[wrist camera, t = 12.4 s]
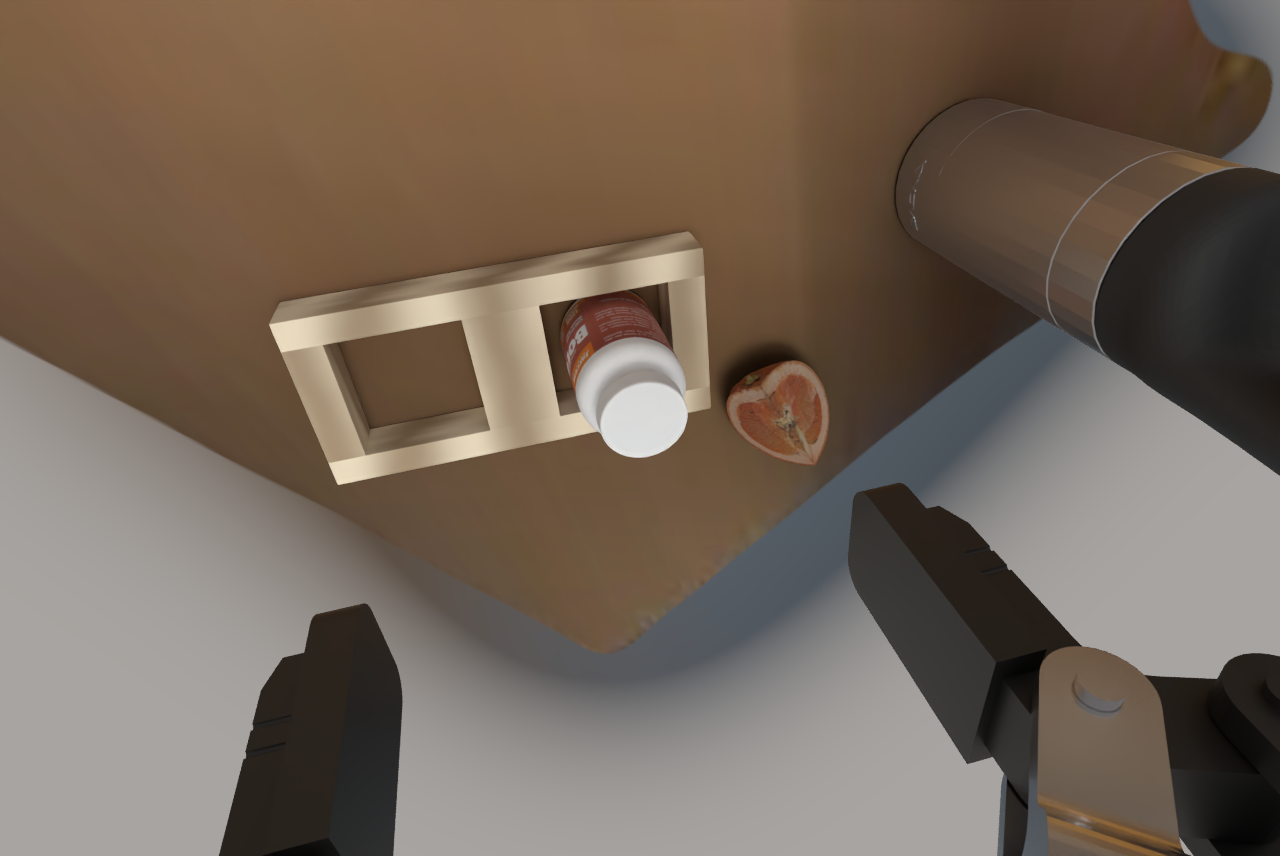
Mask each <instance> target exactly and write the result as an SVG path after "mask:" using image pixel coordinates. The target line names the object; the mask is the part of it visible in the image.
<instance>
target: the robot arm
mask: <svg viewBox="0 0 1280 856" xmlns="http://www.w3.org/2000/svg"><path fill="white" fill-rule="evenodd" d="M896 207H897V211H898V216H899V219H900V221H901V223H902V225H903V227H904V229H905V230H906V231H907V232H908V233H909V234H910V236H911V237H912V238H914V239H915V240H917V241H918V242H920V243H922V244H923V245H925V246H926V247H928V248H930V249H931V250H933V251H934V252H936V253H937V254H939V255H941V256H942V257H944V258H945V259H947V260H948V261H950V262H951V263H953V264H955V265H956V266H958V267H959V268H961V269H963V270H964V271H966V272H968V273H969V274H971V275H972V276H974V277H976V278H977V279H979V280H981V281H982V282H984V283H985V284H987V285H989V286H990V287H992V288H994V289H995V290H997V291H998V292H1000V293H1002V294H1003V295H1005V296H1007V297H1008V298H1010V299H1011V300H1013V301H1015V302H1016V303H1018V304H1020V305H1021V306H1023V307H1025V308H1026V309H1028V310H1029V311H1031V312H1033V313H1034V314H1036V315H1038V316H1039V317H1041V318H1042V319H1044V320H1046V321H1047V322H1049V323H1051V324H1052V325H1054V326H1056V327H1057V328H1059V329H1060V330H1062V331H1064V332H1065V333H1067V334H1069V335H1071V336H1072V337H1074V338H1076V339H1077V340H1079V341H1080V342H1082V343H1084V344H1085V345H1087V346H1089V347H1090V348H1092V349H1094V350H1095V351H1097V352H1098V353H1100V354H1102V355H1103V356H1105V357H1106V358H1108V359H1110V360H1111V361H1113V362H1115V363H1116V364H1118V365H1120V366H1121V367H1123V368H1125V369H1126V370H1128V371H1130V372H1132V373H1133V374H1135V375H1136V376H1137V377H1138V378H1139V379H1141V380H1142V381H1143V382H1144V383H1145V384H1147V385H1148V386H1149V387H1151V388H1152V389H1154V390H1155V391H1157V392H1158V393H1159V394H1161V395H1162V396H1164V397H1166V398H1167V399H1169V400H1170V401H1172V402H1173V403H1175V404H1177V405H1178V406H1180V407H1181V408H1183V409H1184V410H1186V411H1188V412H1189V413H1191V414H1192V415H1194V416H1195V417H1197V418H1198V419H1200V420H1201V421H1203V422H1204V423H1206V424H1207V425H1209V426H1210V427H1212V428H1213V429H1214V430H1216V431H1217V432H1219V433H1220V434H1222V435H1223V436H1225V437H1226V438H1228V439H1229V440H1230V441H1232V442H1233V443H1235V444H1237V445H1238V446H1239V447H1241V448H1242V449H1243V450H1245V451H1246V452H1247V453H1249V454H1250V455H1252V456H1253V457H1254V458H1256V459H1257V460H1259V461H1260V462H1261V463H1263V464H1264V465H1266V466H1267V467H1269V468H1270V469H1271V470H1273V471H1274V472H1275V473H1277V474H1278V475H1280V174H1277V173H1273V172H1269V171H1265V170H1261V169H1257V168H1252V167H1248V166H1245V165H1241V164H1237V163H1233V162H1230V161H1226V160H1222V159H1218V158H1215V157H1211V156H1207V155H1203V154H1199V153H1195V152H1191V151H1187V150H1183V149H1180V148H1176V147H1172V146H1168V145H1165V144H1161V143H1157V142H1154V141H1150V140H1146V139H1142V138H1139V137H1135V136H1131V135H1127V134H1124V133H1120V132H1116V131H1113V130H1109V129H1105V128H1101V127H1098V126H1094V125H1090V124H1087V123H1083V122H1079V121H1075V120H1072V119H1068V118H1064V117H1061V116H1057V115H1053V114H1049V113H1046V112H1043V111H1040V110H1036V109H1032V108H1028V107H1024V106H1021V105H1017V104H1013V103H1009V102H1006V101H1002V100H998V99H990V98H978V99H971V100H967V101H965V102H962V103H959V104H957V105H954V106H952V107H951V108H949V109H948V110H946V111H944V112H943V113H941V114H939V115H938V116H937V117H936V118H935V119H934V120H933V121H932V122H930V123H929V124H928V125H927V126H926V127H925V128H924V129H923V131H922V132H921V133H920V134H919V136H918V137H917V138H916V139H915V141H914V142H913V144H912V146H911V147H910V149H909V151H908V153H907V154H906V156H905V158H904V161H903V164H902V166H901V169H900V171H899V176H898V181H897V186H896ZM848 565H849V570H850V574H851V578H852V581H853V583H854V586H855V588H856V590H857V592H858V594H859V596H860V597H861V599H862V600H863V602H864V603H865V605H866V606H867V608H868V610H869V611H870V613H871V614H872V616H873V617H874V619H875V621H876V622H877V624H878V625H879V627H880V628H881V630H882V631H883V633H884V635H885V636H886V638H887V639H888V641H889V643H890V644H891V646H892V647H893V649H894V650H895V652H896V653H897V655H898V657H899V658H900V660H901V661H902V663H903V664H904V666H905V667H906V669H907V670H908V672H909V674H910V675H911V677H912V678H913V680H914V681H915V683H916V685H917V686H918V688H919V689H920V691H921V693H922V694H923V696H924V697H925V699H926V700H927V702H928V703H929V705H930V707H931V708H932V710H933V711H934V713H935V714H936V716H937V717H938V719H939V720H940V722H941V724H942V725H943V727H944V728H945V730H946V732H947V733H948V735H949V736H950V738H951V739H952V741H953V742H954V744H955V746H956V747H957V749H958V750H959V752H960V753H961V755H962V756H963V758H964V759H965V761H966V763H967V764H969V763H973V762H976V761H979V760H983V759H987V758H990V757H993V758H994V759H995V761H996V762H997V764H998V765H999V766H1000V768H1001V770H1002V771H1003V772H1004V775H1003V778H1002V784H1001V798H1000V815H999V833H998V851H997V856H1190V855H1187V854H1185V853H1184V851H1183V849H1182V847H1181V843H1180V839H1179V837H1180V838H1181V840H1182V841H1183V842H1184V843H1185V845H1186V846H1187V847H1188V849H1189V850H1190V851H1191V853H1192V854H1193V855H1194V856H1280V657H1279V656H1275V655H1270V654H1261V653H1251V654H1243V655H1240V656H1237V657H1234V658H1233V659H1231V660H1229V661H1228V662H1227V664H1226V665H1225V666H1224V668H1223V670H1222V671H1221V673H1220V675H1219V677H1218V678H1217V679H1205V678H1180V677H1160V676H1148V675H1143V674H1142V673H1141V672H1140V671H1139V670H1138V669H1137V668H1135V667H1134V666H1133V665H1131V664H1129V663H1128V662H1127V661H1125V660H1123V659H1121V658H1119V657H1118V656H1115V655H1113V654H1111V653H1108V652H1106V651H1102V650H1099V649H1095V648H1090V647H1082V646H1081V645H1080V644H1079V643H1078V642H1077V641H1076V640H1075V639H1074V638H1073V637H1072V636H1071V635H1070V634H1069V632H1068V631H1067V630H1066V629H1065V628H1064V627H1063V626H1062V625H1061V624H1060V622H1059V621H1058V620H1057V619H1056V618H1055V617H1054V616H1053V615H1052V614H1051V613H1050V612H1049V611H1048V609H1047V608H1046V607H1045V606H1044V605H1043V604H1042V603H1041V602H1040V601H1039V600H1038V598H1037V597H1036V596H1035V595H1034V594H1033V593H1032V592H1031V591H1030V590H1029V589H1028V587H1027V586H1026V585H1025V584H1024V583H1023V582H1022V581H1021V580H1020V579H1019V578H1018V577H1017V576H1016V574H1015V573H1014V572H1013V571H1012V570H1008V568H1007V564H1006V563H1005V562H1004V561H1003V560H1002V559H1001V558H1000V557H999V556H998V555H997V554H996V553H995V551H991V550H990V546H989V545H988V544H987V543H986V541H985V540H984V539H983V538H982V537H981V536H980V535H979V534H978V533H977V532H976V531H975V530H974V528H973V527H972V526H971V525H970V524H969V523H968V522H966V521H964V520H962V519H961V518H959V517H957V516H956V515H954V514H952V513H950V512H949V511H947V510H945V509H944V508H942V507H940V506H936V507H932V508H927V509H926V508H925V507H924V505H923V504H922V503H921V502H920V501H919V500H918V498H917V497H916V496H915V495H914V494H913V493H912V491H911V490H910V489H909V488H908V487H907V486H905V485H904V484H902V483H896V484H892V485H888V486H883V487H879V488H875V489H870V490H866V491H861V492H858V493H856V495H855V496H854V499H853V507H852V518H851V529H850V540H849V552H848ZM401 719H402V688H401V681H400V676H399V672H398V668H397V665H396V663H395V661H394V658H393V656H392V654H391V652H390V650H389V647H388V645H387V643H386V641H385V639H384V636H383V634H382V632H381V630H380V628H379V626H378V623H377V621H376V619H375V617H374V615H373V612H372V610H371V609H370V607H369V606H368V605H367V604H360V605H355V606H351V607H347V608H342V609H338V610H333V611H329V612H325V613H320V614H316V615H315V616H314V617H313V618H312V620H311V624H310V628H309V633H308V638H307V642H306V647H305V652H304V653H301V654H297V655H293V656H289V657H284V658H282V660H281V661H280V663H279V665H278V666H277V667H276V669H275V670H274V672H273V673H272V675H271V676H270V678H269V679H268V681H267V682H266V684H265V685H264V687H263V688H262V690H261V693H260V697H259V701H258V704H257V708H256V712H255V716H254V720H253V730H252V731H251V732H250V736H249V740H248V744H247V748H246V751H245V752H246V759H244V760H243V763H242V767H241V771H240V775H239V779H238V783H237V787H236V791H235V795H234V799H233V803H232V806H231V810H230V815H229V819H228V823H227V826H226V830H225V835H224V838H223V842H222V846H221V850H220V854H219V856H393V850H394V833H395V817H396V800H397V784H398V768H399V751H400V736H401Z"/></svg>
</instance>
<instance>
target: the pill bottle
mask: <svg viewBox="0 0 1280 856" xmlns="http://www.w3.org/2000/svg"><path fill="white" fill-rule="evenodd" d="M560 340H561V346H562V350H563V354H564V357H565V361H566V365H567V368H568V372H569V375H570V379H571V383H572V386H573V390H574V393H575V397H576V400H577V403H578V406H579V409H580V411H581V413H582V415H583V417H584V418H585V419H586V421H587V422H588V423H589V425H590V426H592V427H593V428H594V429H595V430H596V431H598V432H600V433H601V435H602V437H603V439H604V441H605V442H606V444H607V445H608V446H609V447H610V448H611V449H612V450H614V451H615V452H617V453H619V454H621V455H624V456H628V457H635V458H641V457H648V456H652V455H655V454H658V453H660V452H662V451H664V450H666V449H668V448H669V447H670V446H672V445H673V444H674V443H675V442H676V441H677V440H678V439H679V437H680V436H681V434H682V433H683V431H684V429H685V426H686V423H687V418H688V412H687V406H686V403H685V400H684V397H685V392H686V380H685V375H684V372H683V369H682V367H681V364H680V362H679V360H678V358H677V357H676V355H675V353H674V351H673V349H672V348H671V346H670V344H669V342H668V340H667V339H666V337H665V335H664V333H663V331H662V330H661V328H660V326H659V324H658V322H657V320H656V318H655V317H654V315H653V313H652V311H651V310H650V308H649V307H648V305H647V304H646V303H645V302H644V301H643V300H642V299H641V298H640V297H639V296H637V295H636V294H634V293H632V292H630V291H628V290H622V291H617V292H611V293H606V294H600V295H595V296H589V297H584V298H579V299H578V300H577V301H576V302H575V303H574V304H573V305H572V306H571V307H570V308H569V310H568V311H567V313H566V314H565V316H564V319H563V321H562V325H561V331H560Z"/></svg>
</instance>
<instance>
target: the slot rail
mask: <svg viewBox="0 0 1280 856" xmlns="http://www.w3.org/2000/svg"><path fill="white" fill-rule="evenodd" d="M655 284H658V293H659V304H660V315H661V326H662V331H663V333H664V335H665V337H666V339H667V340H668V342H669V344H670V346H671V348H672V349H673V351H674V353H675V355H676V357H677V358H678V360H679V362H680V364H681V367H682V369H683V372H684V375H685V380H686V392H685V397H684V400H685V403H686V406H687V412H688V413H689V412H694V411H699V410H704V409H709V408H711V400H710V380H709V360H708V340H707V320H706V300H705V280H704V260H703V247H702V246H701V245H700V244H699V243H698V241H697V240H696V239H695V238H694V237H693V236H692V235H691V233H690V232H689V231H687V232H681V233H676V234H670V235H664V236H658V237H653V238H647V239H641V240H635V241H630V242H624V243H618V244H612V245H607V246H601V247H595V248H589V249H584V250H578V251H572V252H566V253H560V254H555V255H549V256H543V257H537V258H532V259H526V260H520V261H514V262H509V263H503V264H497V265H491V266H486V267H480V268H474V269H468V270H463V271H457V272H451V273H445V274H439V275H434V276H428V277H422V278H416V279H411V280H405V281H399V282H393V283H388V284H382V285H376V286H370V287H365V288H359V289H353V290H347V291H342V292H336V293H330V294H324V295H318V296H313V297H307V298H301V299H295V300H290V301H284V302H280V303H279V305H278V307H277V309H276V311H275V313H274V315H273V317H272V319H271V321H270V323H269V326H270V328H271V330H272V333H273V335H274V337H275V340H276V342H277V344H278V347H279V349H280V351H281V354H282V356H283V358H284V361H285V363H286V365H287V368H288V370H289V372H290V375H291V377H292V379H293V381H294V384H295V386H296V388H297V391H298V393H299V395H300V398H301V400H302V402H303V405H304V407H305V409H306V412H307V414H308V416H309V419H310V421H311V423H312V426H313V428H314V430H315V433H316V435H317V437H318V440H319V442H320V444H321V447H322V449H323V451H324V454H325V456H326V458H327V460H328V463H329V465H330V467H331V470H332V472H333V474H334V477H335V479H336V481H337V484H338V485H340V484H345V483H350V482H355V481H359V480H364V479H369V478H374V477H379V476H384V475H389V474H393V473H398V472H403V471H408V470H413V469H418V468H423V467H427V466H432V465H437V464H442V463H447V462H452V461H456V460H461V459H466V458H471V457H476V456H481V455H486V454H490V453H495V452H500V451H505V450H510V449H515V448H520V447H524V446H529V445H534V444H539V443H544V442H549V441H553V440H558V439H563V438H568V437H573V436H578V435H583V434H587V433H592V432H597V431H596V430H595V429H594V428H593V427H592V426H590V425H589V423H588V422H587V421H586V419H585V418H584V417H583V415H582V413H581V411H580V409H579V406H578V403H577V400H576V397H575V393H574V390H573V389H570V390H565V391H560V392H555V387H554V381H553V376H552V371H551V366H550V361H549V355H548V350H547V345H546V340H545V335H544V329H543V324H542V319H541V314H540V309H539V306H540V305H545V304H551V303H556V302H562V301H567V300H573V299H578V298H584V297H589V296H595V295H600V294H606V293H611V292H617V291H622V290H628V289H633V288H639V287H644V286H650V285H655ZM457 320H462V324H463V328H464V331H465V335H466V339H467V343H468V347H469V351H470V354H471V358H472V362H473V366H474V370H475V373H476V377H477V381H478V385H479V389H480V393H481V396H482V400H483V404H484V407H479V408H474V409H469V410H464V411H459V412H454V413H449V414H444V415H439V416H434V417H429V418H424V419H419V420H414V421H409V422H403V423H398V424H393V425H388V426H383V427H378V428H373V429H370V427H369V425H368V422H367V419H366V417H365V414H364V411H363V409H362V406H361V403H360V401H359V398H358V396H357V393H356V390H355V388H354V385H353V382H352V380H351V377H350V374H349V372H348V369H347V366H346V364H345V361H344V358H343V356H342V353H341V350H340V348H339V345H338V342H342V341H347V340H353V339H358V338H364V337H369V336H375V335H380V334H386V333H391V332H397V331H402V330H408V329H413V328H419V327H424V326H430V325H435V324H441V323H446V322H452V321H457Z"/></svg>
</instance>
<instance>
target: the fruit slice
mask: <svg viewBox="0 0 1280 856" xmlns="http://www.w3.org/2000/svg"><path fill="white" fill-rule="evenodd" d="M727 413H728V416H729V419H730V421H731V423H732V425H733V426H734V428H735V429H736V431H737V432H738V433H739V434H740V435H741V436H742V437H743V438H744V439H745V440H746V441H748V442H749V443H750V444H752V445H753V446H755V447H756V448H758V449H760V450H761V451H763V452H765V453H766V454H768V455H770V456H772V457H775V458H777V459H780V460H783V461H787V462H791V463H795V464H800V465H815V464H816V463H817V461H818V460H819V457H820V455H821V453H822V451H823V449H824V446H825V443H826V440H827V436H828V429H829V421H830V415H829V404H828V399H827V396H826V392H825V389H824V387H823V384H822V382H821V381H820V379H819V377H818V376H817V374H816V373H815V372H814V371H813V370H812V369H811V368H810V367H809V366H808V365H806V364H805V363H803V362H800V361H795V360H789V361H782V362H779V363H776V364H772V365H770V366H766V367H764V368H762V369H760V370H757V371H755V372H752V373H750V374H748V375H747V376H745V377H744V378H743V379H742V380H741V381H740V382H739V383H738V384H736V385H735V386H734V387H733V388H732V390H731V392H730V394H729V397H728V400H727Z"/></svg>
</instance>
